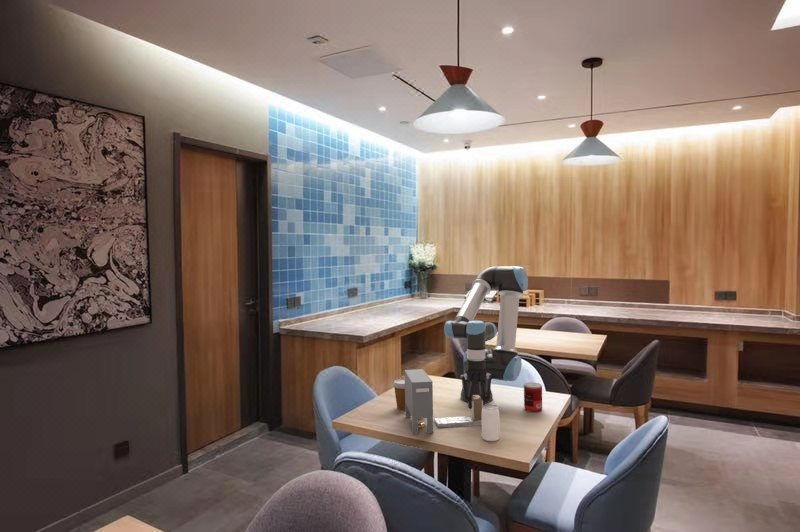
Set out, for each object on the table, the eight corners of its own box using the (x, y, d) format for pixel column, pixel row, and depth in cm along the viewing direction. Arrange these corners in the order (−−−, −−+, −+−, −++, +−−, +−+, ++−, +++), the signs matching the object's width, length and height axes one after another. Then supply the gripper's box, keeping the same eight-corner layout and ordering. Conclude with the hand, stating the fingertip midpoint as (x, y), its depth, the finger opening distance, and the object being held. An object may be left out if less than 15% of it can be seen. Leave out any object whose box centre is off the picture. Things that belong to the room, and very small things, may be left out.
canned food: (542, 407, 216) (542, 382, 215) (541, 413, 208) (541, 387, 208) (525, 405, 218) (524, 381, 218) (523, 411, 211) (523, 386, 210)
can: (479, 435, 183) (479, 404, 182) (496, 435, 183) (496, 403, 183) (484, 442, 176) (483, 409, 176) (501, 441, 177) (501, 408, 177)
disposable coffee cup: (412, 411, 213) (412, 384, 212) (391, 410, 214) (391, 383, 214) (416, 405, 222) (415, 379, 222) (395, 404, 224) (395, 378, 224)
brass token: (422, 423, 198) (422, 420, 198) (427, 427, 193) (427, 424, 193) (411, 425, 196) (411, 422, 196) (415, 428, 191) (415, 425, 192)
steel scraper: (478, 419, 202) (478, 394, 202) (483, 424, 195) (483, 398, 195) (434, 421, 199) (433, 396, 199) (438, 427, 192) (437, 401, 192)
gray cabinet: (423, 415, 207) (423, 369, 207) (433, 433, 185) (432, 382, 185) (405, 416, 206) (404, 369, 206) (413, 435, 184) (412, 383, 184)
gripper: (492, 356, 202) (493, 412, 202) (454, 357, 200) (455, 414, 200) (498, 360, 194) (498, 417, 195) (459, 361, 192) (459, 420, 193)
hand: (476, 415), depth 198 cm, fingers closed on steel scraper, 3 cm apart
